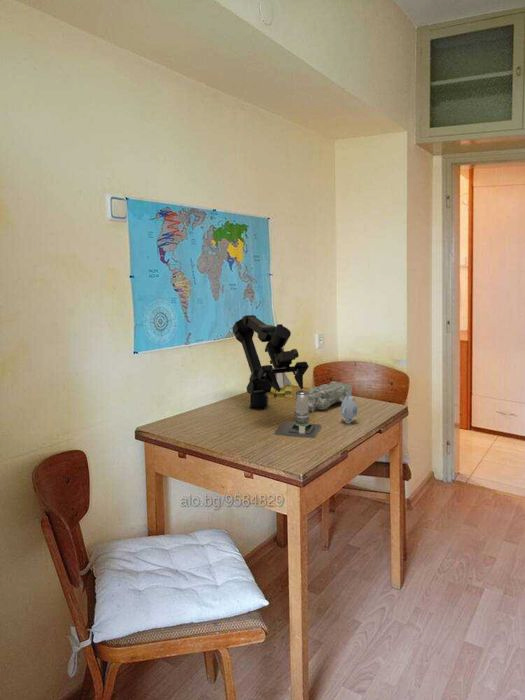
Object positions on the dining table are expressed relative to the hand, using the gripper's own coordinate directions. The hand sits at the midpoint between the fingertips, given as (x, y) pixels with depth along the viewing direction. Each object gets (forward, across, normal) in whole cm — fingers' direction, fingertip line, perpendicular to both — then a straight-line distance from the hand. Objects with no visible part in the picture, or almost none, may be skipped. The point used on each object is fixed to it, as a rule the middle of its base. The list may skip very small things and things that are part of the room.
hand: (291, 390), depth 190 cm
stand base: (+14, 0, +5) cm, 15 cm away
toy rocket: (-18, +16, +38) cm, 45 cm away
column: (+14, 0, +3) cm, 15 cm away
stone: (-3, +28, +22) cm, 36 cm away
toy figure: (+14, +21, +6) cm, 26 cm away
